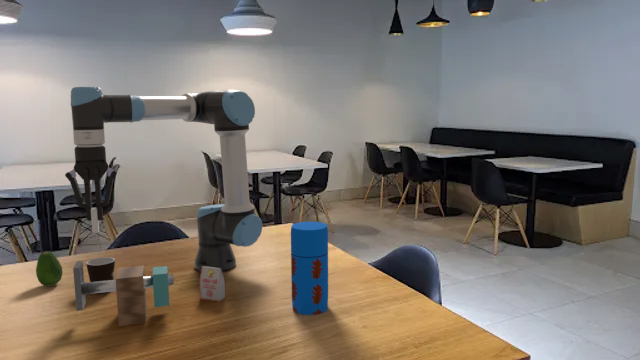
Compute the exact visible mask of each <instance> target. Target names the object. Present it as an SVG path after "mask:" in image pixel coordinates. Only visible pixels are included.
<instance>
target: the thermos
mask: <svg viewBox="0 0 640 360" xmlns="http://www.w3.org/2000/svg"><path fill="white" fill-rule="evenodd" d="M328 228H329V227H328V224H326V223H324V222H320V221H302V222H301V221H300V222H296V223H293V224H292V225H291V228H290V259H291V260H290V263H291V264H290V265H291V266H290V269H291V270H290V271H291V272H290V274H291V276H290V279H291V302H292V303H291V304H292V310H293V311H294V312H295V313H296V314H298V315H299V314H300V315H303V314H304V316H305V315H306V316H313V315H315V314H316V315H318V314H323V313H325V312H326V311H327V310H328V306H329V303H328V302H329V229H328ZM316 315H315V316H316Z"/></svg>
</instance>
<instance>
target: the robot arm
mask: <svg viewBox="0 0 640 360" xmlns="http://www.w3.org/2000/svg"><path fill="white" fill-rule="evenodd" d="M70 107H71V118H72V132H73V133H72V134H73V144H74V145H75V147H74V159H75V161H74V162H75V163H74V165H73V169H72V170H70V171H68V172H66V173H65V174H64V176H65V178H67V180H68V181H69V182H70V185H71V189H72V192H73V195H74V197H75V200H76V203H77V207H78V208H83V209H85V210H86V219H87V221H88V222H89V221H90V222H91V231H92V234H98V233H99V232H100V221H102V220H103V218H104V216H103V215H104V213H103V208H104V207H107V206H108V205H109V203H110V201H111V194H112V190H113V184H114V179H115V177H116V176H117V174H118V170H116V169H113V168H111V167H110V166H109V164H108V163H107V154H106V146H104V144H105V143H106V140H105V136H106V135H105V123H107V124H108V123H131V124H133V123H135V122H136V123H137V122H141V121H157V120H158V121H161V120H183V122H187V123H191V122H193V123H201V124H206V125H207V124H209V125H213V127H214V132H215V133H216V134H217V136H219V147H220V155H221V156H220V158H221V170H222V182H223V183H222V184H223V195H224V197H223V198H224V203H219V204H210V205H206V206H202V207H199V208H198V209H197V215H196V216H197V217H196V221H197V223H196V224H197V238H198V248H197V250H196V251H197V252H196V255H195V259H194V269H196V270H197V271H200V272H201V267H202V266H205V267H214V268H221V271H222V272H224V271H228V270H231V269H233V268H234V267H236V265H237V262H236V261H237V260H236V256H235V254H234V251H233V248H232V245H234V246H236V247H244V248H245V247H246V248H247V247H248V248H249V247H251V246H253V245H254V244H255V243H257V241H258V240H259V238H260V236H261V235H262V231H263V221H262V218H260V216H259V215H257V214H255V206H254V205H253V204H252V203H251V202H250V192H249V191H250V189H249V174H248V162H247V145H246V144H247V143H246V134H247V132H248V131H249V130H250V125H249V124H251V123H252V122H253V119H254V118H255V114H256V109H255V104H254V101H253V99H252V97H250V95H249V94H248V93H246V92H244V91H243V90H237V89H227V90H224V89H223V90H209V91H202V92H201V91H200V92H195V93H184V94H181V96H170V95H169V96H165V95H164V96H163V95H162V96H161V95H160V96H159V95H158V96H156V95H155V96H154V95H153V96H152V95H151V96H149V95H148V96H147V95H135V94H134V95H133V94H132V95H131V94H108V95H107V94H103V92H102V88H101V87H98V86H75V87H72V88H71V90H70ZM76 173H77V174H76ZM106 173H107V177H108V180H107V183H106V190H105V194H104V198H103V196H102V185H101V184H102V183H101V181H102V180H101V179H102V178H103V176H105V174H106ZM77 175H78V176H79V177H80V178H81V179H82V181H83V185H84V186H83V187H84V197H83V195H82V192H81V188H80V186H79V183H78V180H77ZM91 181H93V183H94V190H95V191H94V192H95V205H96V206H95V207H93V201H92V189H91V188H92V187H91ZM84 200H85V201H84Z"/></svg>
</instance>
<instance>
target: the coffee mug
mask: <svg viewBox="0 0 640 360" xmlns="http://www.w3.org/2000/svg"><path fill="white" fill-rule="evenodd" d="M115 262H116V259H115V258H114V257H111V256H103V257H96V258H92V259H89V260H87V261H86V263H85V264H86V269H87V272H88V273H87V274H88V279H89V282H97V281H107V280H115V266H116V263H115ZM109 293H110V292H104V293H94V295H105V294H109Z"/></svg>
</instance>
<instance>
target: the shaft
mask: <svg viewBox="0 0 640 360" xmlns="http://www.w3.org/2000/svg"><path fill="white" fill-rule="evenodd" d="M83 263H84V262H83V260H80V261H76V262H75V264H74V266H73V268H72V271H73V272H72V273H73V282H74V294H75V306H76V307H75V308H76V311H78V312H79V311H83V310H84V308H85V306H86V302H87V300H86V295H92V294H94V293H104V292H109V293H111V292H116V279H114V280H107V281H97V282H90V281H88V282H87V281H86V282H85V273H84V264H83ZM174 284H175V283H174V273H168V287H169V286H174ZM144 288H145V289H149V288H153V275H148V276H145V277H144ZM94 295H95V294H94Z"/></svg>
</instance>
